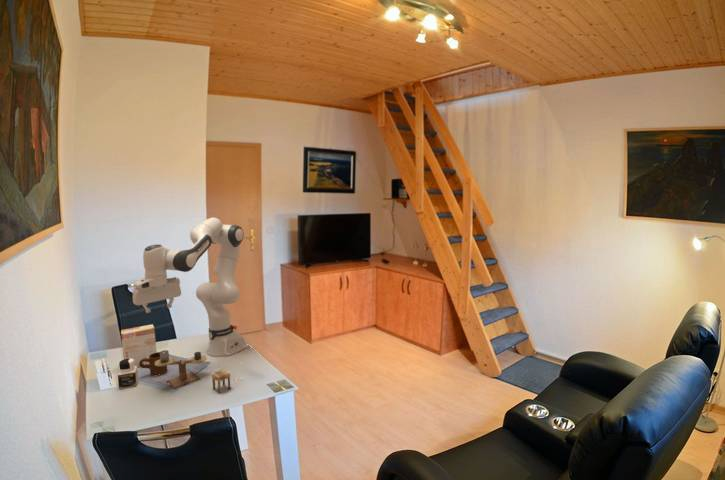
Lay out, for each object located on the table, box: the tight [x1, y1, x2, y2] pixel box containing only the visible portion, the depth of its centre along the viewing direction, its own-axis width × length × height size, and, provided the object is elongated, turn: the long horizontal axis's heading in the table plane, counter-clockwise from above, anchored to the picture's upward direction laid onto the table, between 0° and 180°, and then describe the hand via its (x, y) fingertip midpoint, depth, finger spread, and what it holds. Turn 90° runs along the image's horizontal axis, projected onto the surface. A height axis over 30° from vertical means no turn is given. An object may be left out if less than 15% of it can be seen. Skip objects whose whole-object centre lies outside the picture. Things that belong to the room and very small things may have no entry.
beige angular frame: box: [233, 362, 244, 383], centre depth 195 cm, size 25×17×1 cm
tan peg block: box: [211, 369, 231, 394], centre depth 181 cm, size 6×6×8 cm
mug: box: [139, 351, 168, 376], centre depth 197 cm, size 12×8×9 cm, turn 126°
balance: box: [155, 351, 208, 390], centre depth 188 cm, size 23×9×13 cm, turn 138°
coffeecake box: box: [120, 324, 157, 369], centre depth 207 cm, size 15×7×20 cm, turn 123°
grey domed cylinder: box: [159, 349, 170, 363], centre depth 182 cm, size 4×4×4 cm
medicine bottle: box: [117, 358, 139, 390], centre depth 186 cm, size 7×7×12 cm
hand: (159, 309), depth 184 cm, fingers open, 8 cm apart
